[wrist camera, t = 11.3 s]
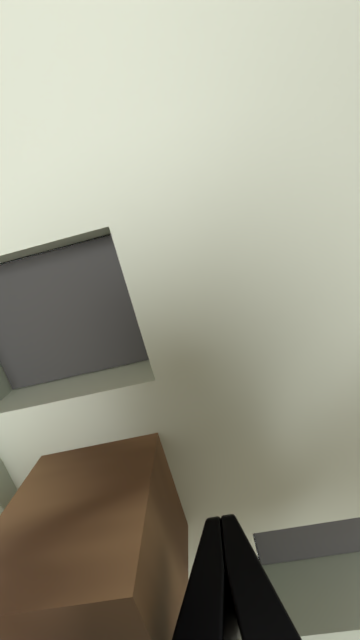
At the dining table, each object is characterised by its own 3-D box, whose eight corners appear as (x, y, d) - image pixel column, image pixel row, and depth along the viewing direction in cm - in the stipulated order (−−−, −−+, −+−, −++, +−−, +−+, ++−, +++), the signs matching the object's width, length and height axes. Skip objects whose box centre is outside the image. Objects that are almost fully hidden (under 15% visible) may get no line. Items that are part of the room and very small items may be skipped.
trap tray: (358, -105, 7) (469, -330, 4) (388, 557, 13) (439, 635, 11) (-160, 81, 8) (-328, 1, 6) (95, 597, 15) (74, 676, 12)
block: (157, 432, 9) (132, 596, 5) (187, 524, 10) (188, 723, 6) (41, 456, 10) (-78, 626, 5) (82, 542, 11) (13, 740, 6)
